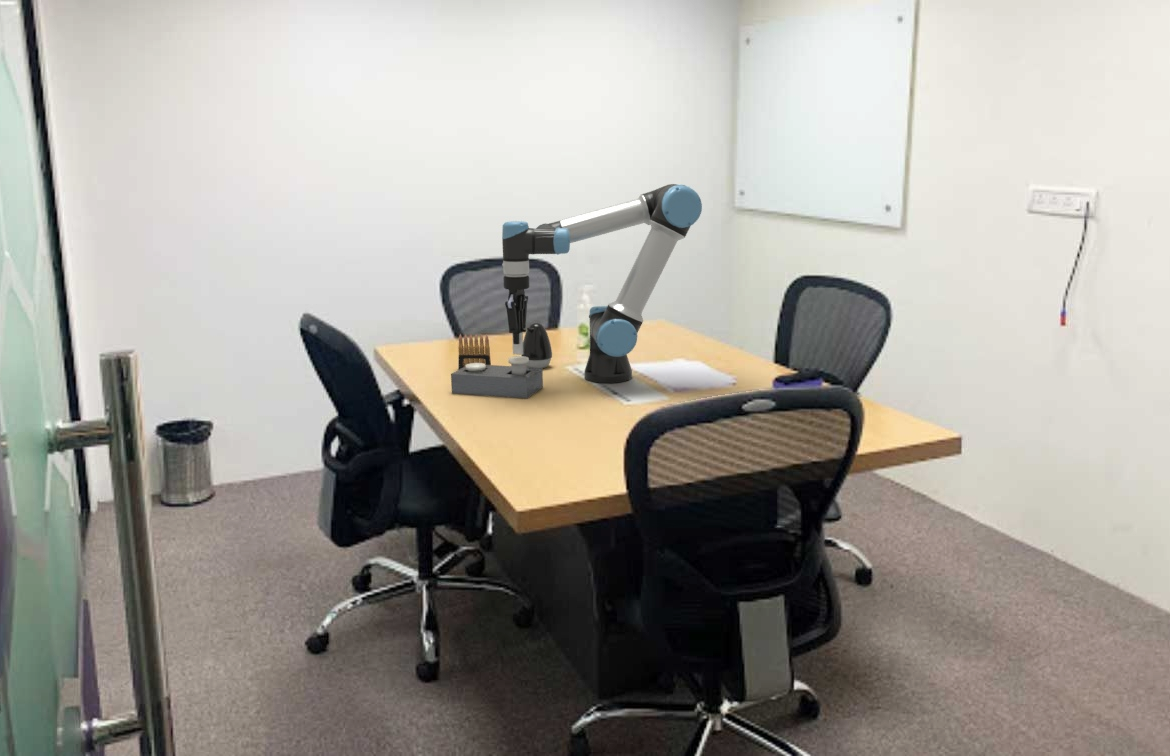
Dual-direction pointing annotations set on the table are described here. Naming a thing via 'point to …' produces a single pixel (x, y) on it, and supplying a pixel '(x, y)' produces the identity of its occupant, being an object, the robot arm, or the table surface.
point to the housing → (497, 382)
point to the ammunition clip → (473, 351)
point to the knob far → (475, 367)
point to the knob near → (518, 364)
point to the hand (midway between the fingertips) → (518, 354)
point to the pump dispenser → (537, 346)
